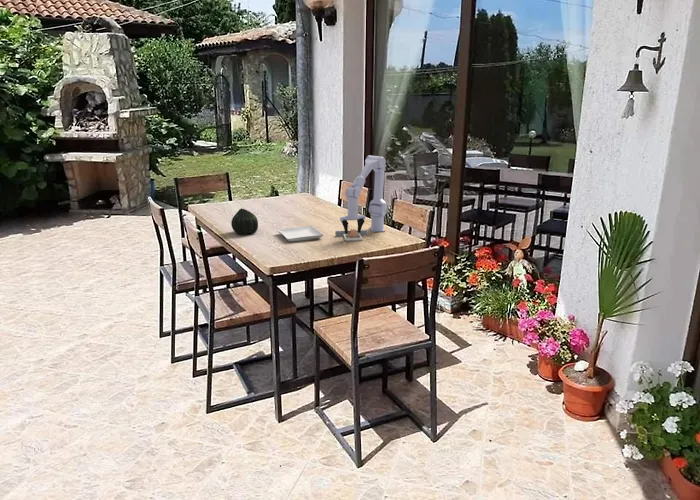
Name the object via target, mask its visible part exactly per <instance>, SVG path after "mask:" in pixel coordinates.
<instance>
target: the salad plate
mask: <svg viewBox="0 0 700 500" xmlns="http://www.w3.org/2000/svg"><path fill="white" fill-rule="evenodd" d="M276 231H277V232H278V233H279V234H280V235H281V236H282V237H283V238H284V239H285V240H286V241H288V242H302V241H311V240H317V239H320V238H322V237H323V236H324V233H322V232H321V231H320V230H318V229H316V227H314V226H313V225H307V226H298V227H287V228H279V229H277V230H276Z"/></svg>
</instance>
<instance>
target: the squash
mask: <svg viewBox="0 0 700 500" xmlns="http://www.w3.org/2000/svg"><path fill="white" fill-rule="evenodd" d="M230 223H231V224H230V225H231V228H232V230H233V232H235V234H238V235H240V236H242V235H245V234H250V235H252V234H255V233H256V232H258V229H259V220H258V218H257V215H255V214H254V213H252V212H251V211H250V210H247V209H246V208H239V209H238V211H237V212H236V213H235V214H234V215H233V216H232V218H231V222H230Z"/></svg>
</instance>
